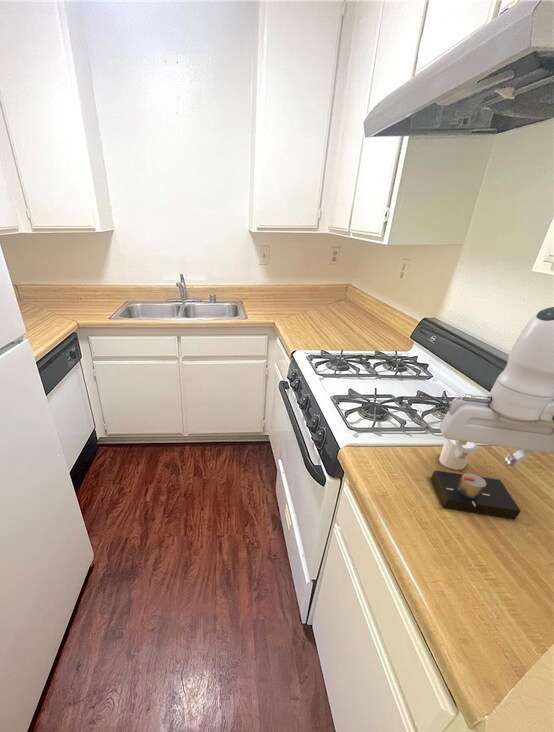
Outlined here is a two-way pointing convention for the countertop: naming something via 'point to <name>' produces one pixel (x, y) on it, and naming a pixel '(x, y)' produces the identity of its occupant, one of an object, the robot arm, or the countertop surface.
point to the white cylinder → (449, 458)
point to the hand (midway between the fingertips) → (483, 460)
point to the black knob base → (489, 502)
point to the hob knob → (471, 486)
